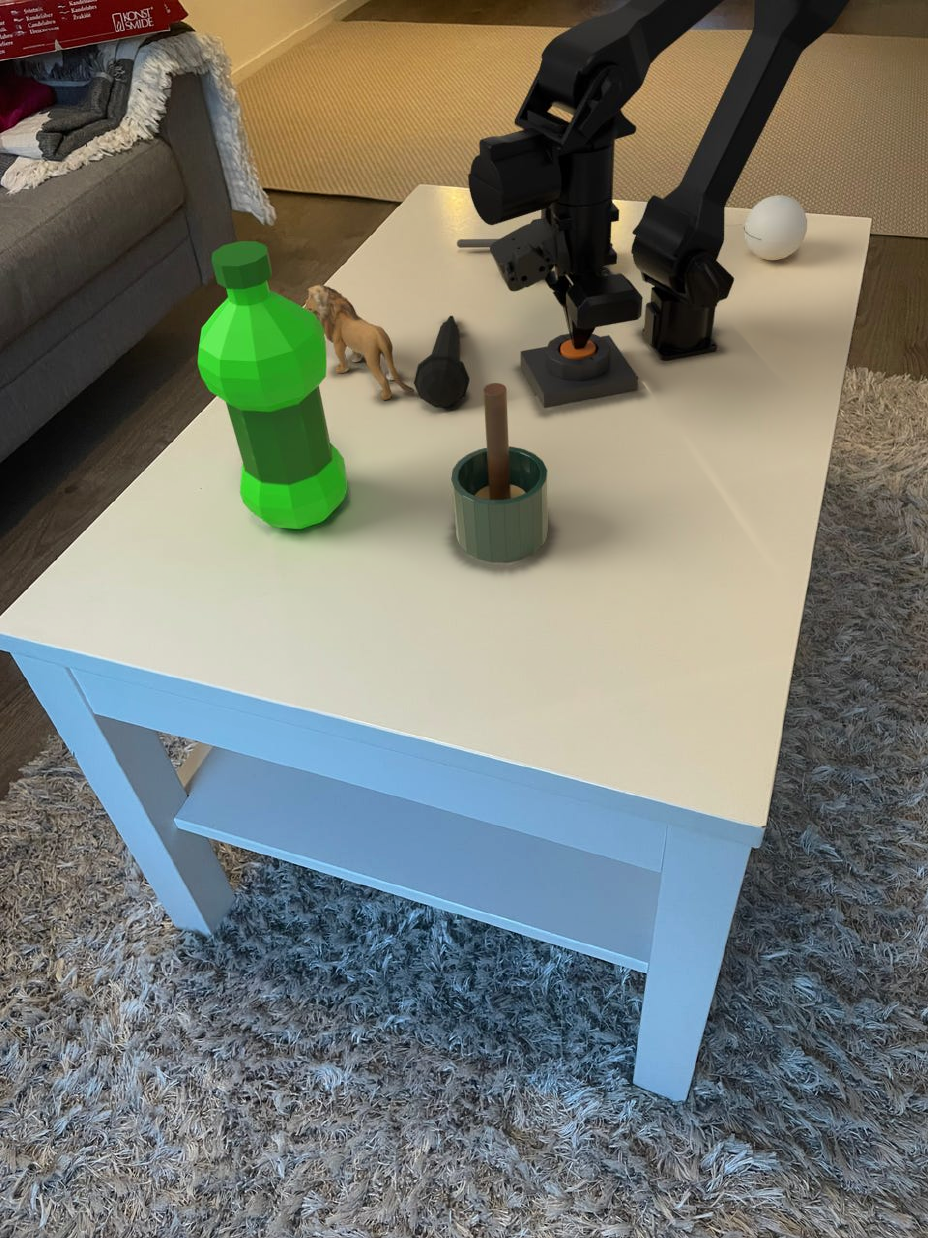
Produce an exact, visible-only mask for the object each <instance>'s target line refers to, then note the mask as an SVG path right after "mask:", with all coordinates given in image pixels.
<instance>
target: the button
mask: <svg viewBox="0 0 928 1238" xmlns="http://www.w3.org/2000/svg"><path fill="white" fill-rule="evenodd" d="M595 352H596V346H595V344H594V343H593V342H591V341H589V340H588V342H587V344H586V346H585V347H584V348H581V349H575V348H574V347H573V345H572V342H571V340H568V341H566V342H564V343H563V344H562V345H561V355H562V356H564V357H566V358H570V359H584V358H589V357H591V356H593V355H595Z"/></svg>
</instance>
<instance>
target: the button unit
mask: <svg viewBox="0 0 928 1238" xmlns="http://www.w3.org/2000/svg"><path fill="white" fill-rule="evenodd" d="M568 340H571V338H570V334H569V333H564V334H559V335H558V336H556V337H555V338H553V339H551V340H549V342H548V344H547V346H542V347H536V348H531V349H526V350H520V352H519V353H520V370H521V373H522V375H523V376H524V378H525V379H526V381H527V383H528V385H529V387H530V389H531V391H532V393H533V395H534V396H535V397H537V398H538V399H539V402H540V404H541V405H542V407H543V409H548V408H553V407H557V406H564V405H568V404H574V403H579V402H584V401H590V400H596V399H602V398H605V397H610V396H617V395H622V394H626V393H631V392H637V391H638V384H639V383H638V382H639V376H638V374H637V373H636V372H635V370H634V368H632V366H631V364H630V363H629V362H628V360H627V359H626V358H625V356H624V355H623V353H622V351H621V350H620V349H619V347H618V346H617V344H616V343H615V342H614V340H613V339H612V337H611V336H610V335H609V334H608V335H602V336H599V335H597V334H595V333H592V335H591V337H590V339H589V341H591V342H593V343H594V344H595V346H596V352H595V355H593V356H591V357H589V358H584V359H570V358H566V357H564V356H562V355H561V345H562V344H563V343H564V342H566V341H568Z"/></svg>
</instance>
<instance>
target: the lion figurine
mask: <svg viewBox="0 0 928 1238" xmlns="http://www.w3.org/2000/svg"><path fill="white" fill-rule="evenodd" d="M307 291H308V298H307V299H306V300H305V305H304V306H303V308H304V309H306V310H308V311H310V312H311V313H313V314H315V316H316V317H317V319H318V320H319V322H320V323H321V325H322V327H323V330H324V335H325V339H326V340H328V341H329V342H330V343H332V344H333V345H332V346H333V349H334V352H335V356H336V357H337V358H338V361H339V364H338V365H337V366H336V367H335V371H336V373H337V374H344V373H346V372H348V371H349V368H350V367H349V362H348V359H347V356H346V350H347V347H348V348H349V349H350V350H351V351H352V353H351V354H352V355H351V356H350V360H351V362H353V363H358V362H361V361H362V359H363V356H364V359H365V361H366V364H367V367H368V369H369V371H370V373H371V374H372V376H373V377H374V378H375V380H376V381H377V382H378V383H379V385H380V386H381V388H382V390H381V391H380V394H379V396H380V399H381V400H382V401H386V400H389V399H390V398H391V397H392V394H393V393H392V390H391V386H390V383H389V381H394V382H395V383H396V384H397V385H398V387H400V388H401V389H402V390H403V391H404V392H405V393H406V394H410V395H412V394H415V392H416V391H415V389H414V388H412V387H411V386H409V385H408V384H406V383H404V382H402V380H401V379H400V377H399V375H398V374H397V369H396V367H395V365H394V355H393V351H394V346H393V343H392V340H391V338H390V336H389V335H388V333H387V332H386V331H385V329H384V328H383V327H382V326H380V325H374V324H372V323H370V322H368V321H367V320H365V319H363V318H361V316H359V315H358V314H357V311H356V309H355V307H354V306H353V304H352V303H351V302H350V301H349V300H348V298H347V297H345V296H343V294H342V293H341V292H338V290H336V289H335V288H331V287H330V286H328V285H325V284H316V285H313V286H310V287H308V288H307ZM362 355H363V356H362ZM381 356H382V358H383V360H384V362H385V364H386V365H387V370H388V372H387V373H386V374H385V375H384V373H383V371H382V367H381Z"/></svg>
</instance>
